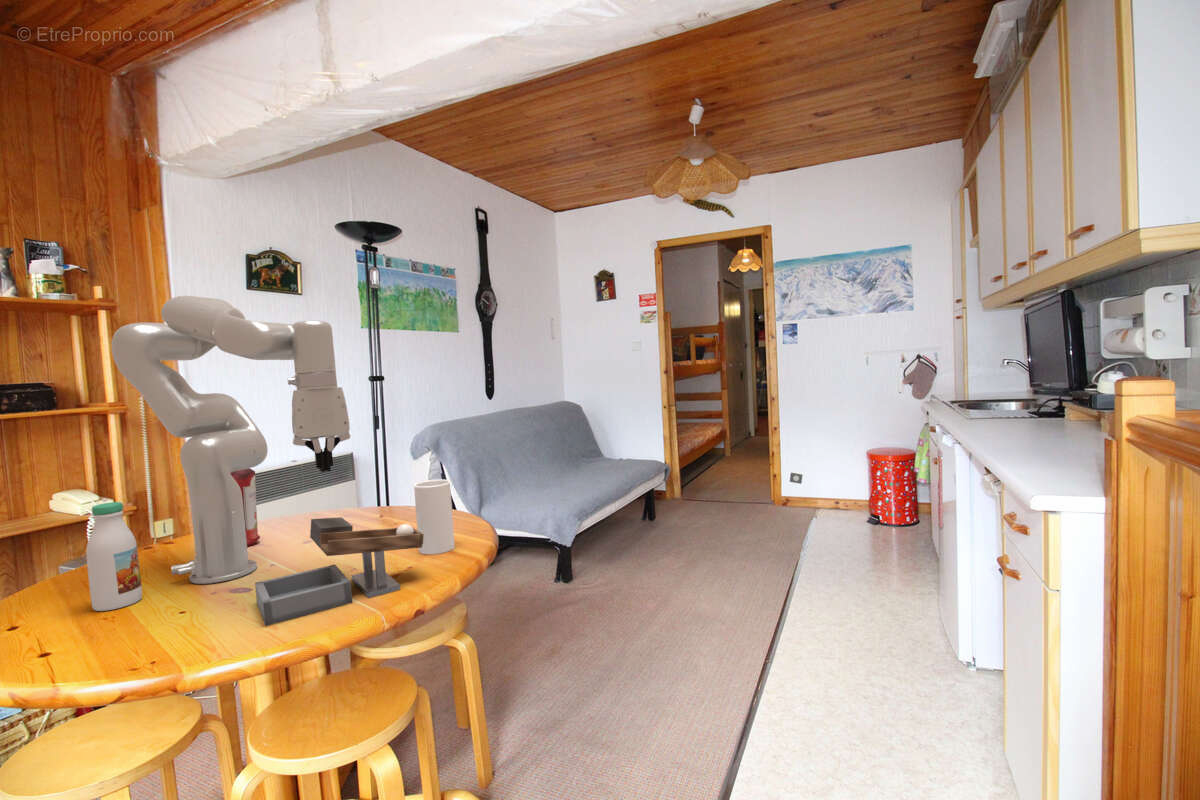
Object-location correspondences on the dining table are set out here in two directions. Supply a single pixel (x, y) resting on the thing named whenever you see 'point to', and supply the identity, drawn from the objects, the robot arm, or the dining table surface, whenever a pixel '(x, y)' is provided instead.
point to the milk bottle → (112, 560)
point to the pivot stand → (375, 576)
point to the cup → (434, 516)
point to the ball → (404, 530)
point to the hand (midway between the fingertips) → (325, 470)
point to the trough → (358, 538)
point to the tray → (302, 594)
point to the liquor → (248, 502)
